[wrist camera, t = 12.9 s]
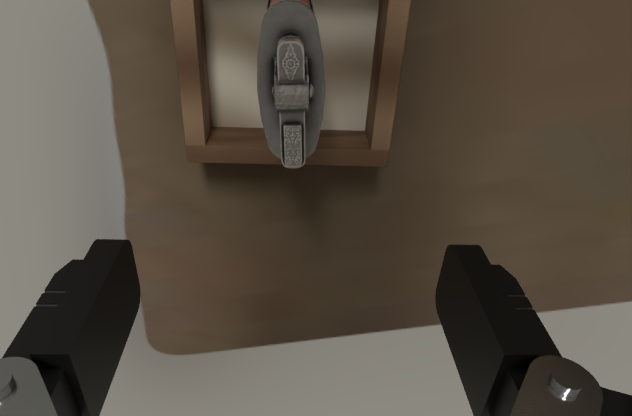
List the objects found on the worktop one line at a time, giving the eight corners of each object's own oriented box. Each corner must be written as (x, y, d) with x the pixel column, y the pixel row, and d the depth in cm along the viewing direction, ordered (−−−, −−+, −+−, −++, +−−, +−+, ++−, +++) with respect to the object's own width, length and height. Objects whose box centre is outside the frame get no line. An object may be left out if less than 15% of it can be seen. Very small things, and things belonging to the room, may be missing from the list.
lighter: (260, -21, 28) (246, 13, 19) (318, -21, 28) (330, 12, 20) (267, 111, 32) (259, 185, 24) (317, 110, 32) (327, 184, 24)
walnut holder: (176, -74, 27) (162, -71, 24) (405, -62, 28) (419, -57, 25) (196, 139, 34) (187, 162, 31) (378, 143, 34) (386, 166, 31)
